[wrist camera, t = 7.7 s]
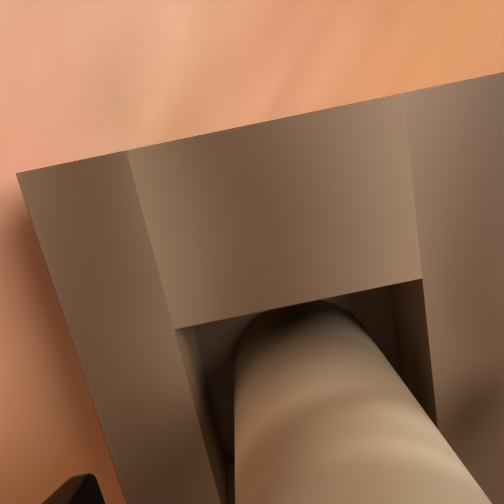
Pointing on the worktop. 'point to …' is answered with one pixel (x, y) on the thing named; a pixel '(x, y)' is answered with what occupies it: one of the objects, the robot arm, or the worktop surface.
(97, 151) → the worktop surface
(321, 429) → the pin
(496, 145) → the bore block
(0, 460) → the worktop surface
